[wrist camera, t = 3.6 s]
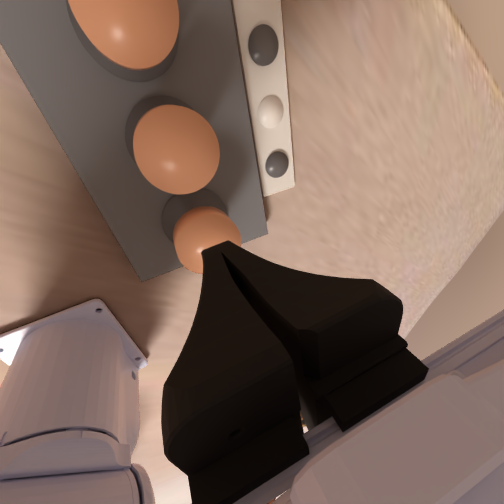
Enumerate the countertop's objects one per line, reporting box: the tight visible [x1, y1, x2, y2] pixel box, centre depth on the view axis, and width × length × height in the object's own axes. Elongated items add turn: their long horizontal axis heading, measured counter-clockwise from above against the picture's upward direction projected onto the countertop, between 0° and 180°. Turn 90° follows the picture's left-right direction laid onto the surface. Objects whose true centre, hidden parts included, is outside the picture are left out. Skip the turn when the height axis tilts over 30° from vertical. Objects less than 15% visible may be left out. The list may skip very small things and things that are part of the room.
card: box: [231, 0, 295, 197], centre depth 18 cm, size 12×3×1 cm, turn 10°
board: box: [0, 0, 268, 282], centre depth 16 cm, size 18×11×2 cm, turn 10°
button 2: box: [68, 0, 179, 71], centre depth 11 cm, size 4×4×3 cm
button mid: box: [133, 105, 220, 194], centre depth 13 cm, size 4×4×3 cm
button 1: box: [173, 206, 241, 274], centre depth 16 cm, size 4×4×3 cm
